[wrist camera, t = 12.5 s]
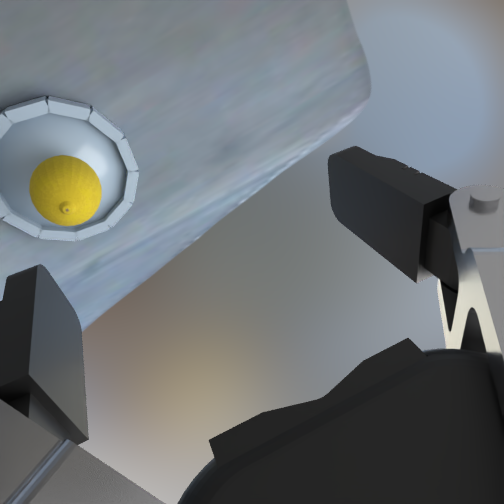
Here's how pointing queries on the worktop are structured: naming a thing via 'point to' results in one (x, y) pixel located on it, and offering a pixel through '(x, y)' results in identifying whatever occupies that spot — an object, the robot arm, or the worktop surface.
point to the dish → (63, 143)
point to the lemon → (65, 190)
